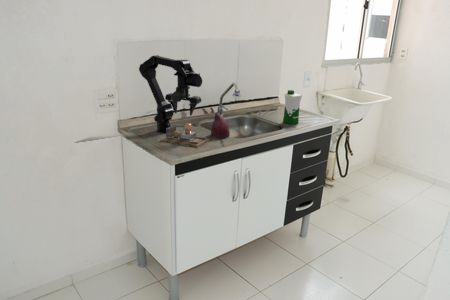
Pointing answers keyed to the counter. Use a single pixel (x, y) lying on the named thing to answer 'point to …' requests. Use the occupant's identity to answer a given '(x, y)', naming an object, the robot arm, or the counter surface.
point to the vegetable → (220, 127)
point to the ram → (187, 133)
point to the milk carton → (291, 107)
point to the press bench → (173, 137)
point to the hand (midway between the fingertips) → (183, 114)
